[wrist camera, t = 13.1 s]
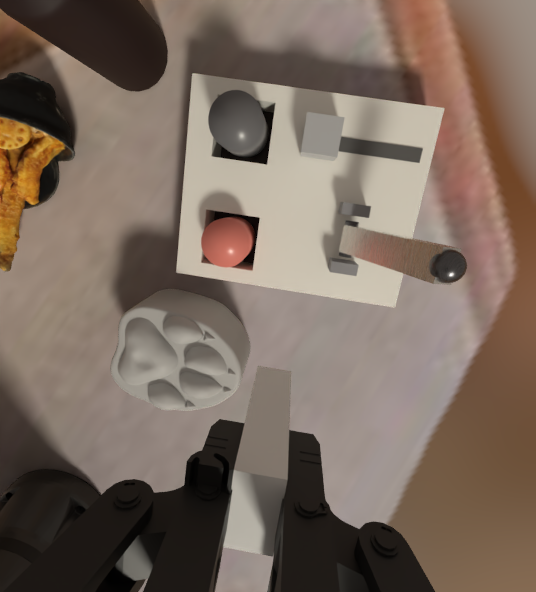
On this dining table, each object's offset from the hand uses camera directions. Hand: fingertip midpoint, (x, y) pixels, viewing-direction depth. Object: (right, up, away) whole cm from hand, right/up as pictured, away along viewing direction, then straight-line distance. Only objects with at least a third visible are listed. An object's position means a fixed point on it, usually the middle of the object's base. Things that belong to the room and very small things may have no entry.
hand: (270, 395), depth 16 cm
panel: (+3, +15, +21) cm, 26 cm away
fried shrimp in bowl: (-25, +17, +23) cm, 38 cm away
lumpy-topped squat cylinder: (-8, 0, +26) cm, 28 cm away
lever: (+7, +10, +17) cm, 20 cm away
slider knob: (+5, +18, +16) cm, 25 cm away
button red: (-4, +11, +22) cm, 24 cm away
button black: (-2, +20, +18) cm, 27 cm away
